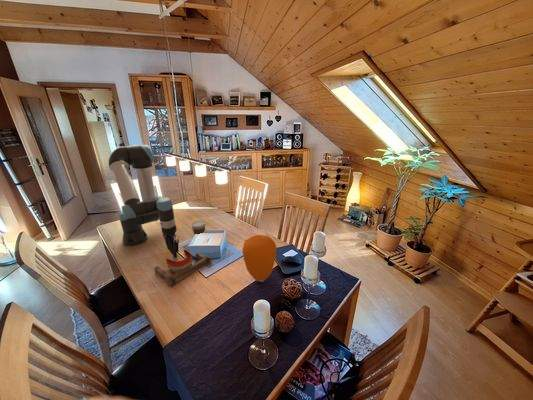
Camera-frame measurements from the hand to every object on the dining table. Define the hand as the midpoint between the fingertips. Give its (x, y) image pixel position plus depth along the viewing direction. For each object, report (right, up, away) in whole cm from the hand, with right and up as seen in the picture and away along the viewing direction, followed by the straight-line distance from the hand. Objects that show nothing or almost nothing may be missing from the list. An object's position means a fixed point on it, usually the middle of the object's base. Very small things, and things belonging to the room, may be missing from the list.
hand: (175, 261), depth 133 cm
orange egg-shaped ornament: (+51, -6, -13) cm, 53 cm away
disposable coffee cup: (+7, +9, +26) cm, 28 cm away
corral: (+6, -3, -3) cm, 7 cm away
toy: (+6, -3, -4) cm, 8 cm away
